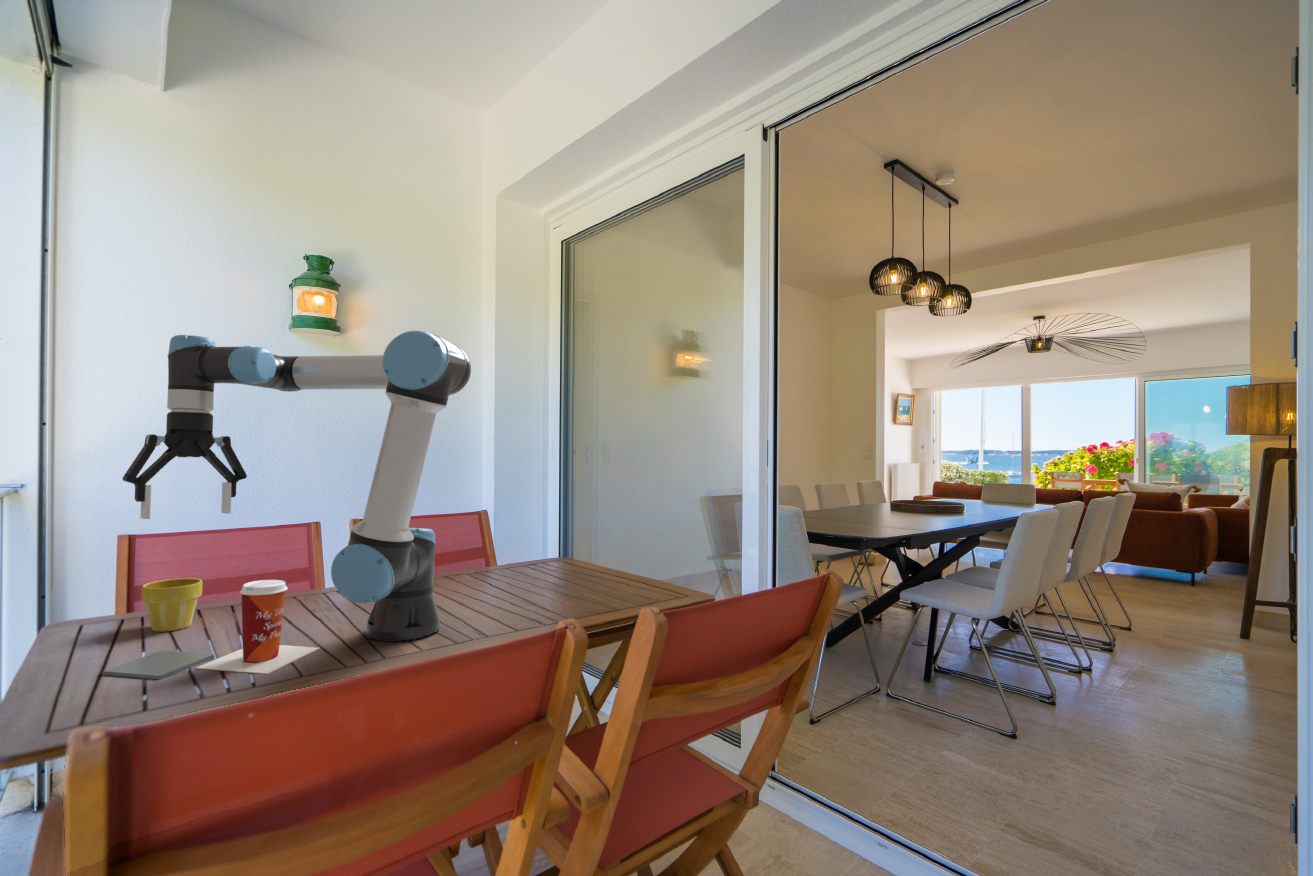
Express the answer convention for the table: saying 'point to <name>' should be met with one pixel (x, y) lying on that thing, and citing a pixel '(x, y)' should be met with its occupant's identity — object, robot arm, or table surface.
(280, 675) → the table surface
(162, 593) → the plant pot
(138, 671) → the slate coaster
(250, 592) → the paper cup
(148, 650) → the table surface
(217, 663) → the tile
